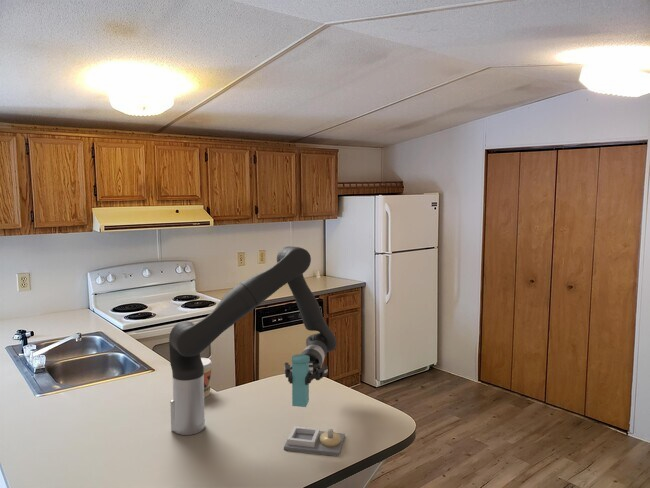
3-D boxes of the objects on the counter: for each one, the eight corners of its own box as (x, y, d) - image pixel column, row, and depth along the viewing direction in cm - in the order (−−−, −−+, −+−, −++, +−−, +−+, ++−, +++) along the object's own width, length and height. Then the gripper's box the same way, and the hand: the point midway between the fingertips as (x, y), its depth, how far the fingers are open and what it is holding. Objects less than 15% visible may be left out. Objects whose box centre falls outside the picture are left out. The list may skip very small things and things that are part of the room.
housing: (283, 449, 142) (284, 435, 142) (293, 431, 153) (293, 417, 153) (339, 456, 140) (339, 441, 139) (345, 436, 150) (345, 422, 150)
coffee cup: (193, 402, 173) (192, 368, 171) (181, 393, 180) (180, 361, 178) (217, 394, 179) (216, 362, 177) (204, 386, 186) (204, 355, 184)
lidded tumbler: (289, 406, 143) (289, 360, 142) (294, 398, 148) (294, 353, 147) (307, 408, 142) (307, 361, 141) (311, 400, 148) (311, 354, 146)
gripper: (289, 346, 159) (274, 366, 142) (333, 349, 157) (323, 370, 140) (289, 369, 160) (274, 391, 143) (333, 372, 158) (322, 395, 141)
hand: (298, 380), depth 142 cm, fingers closed on lidded tumbler, 4 cm apart
